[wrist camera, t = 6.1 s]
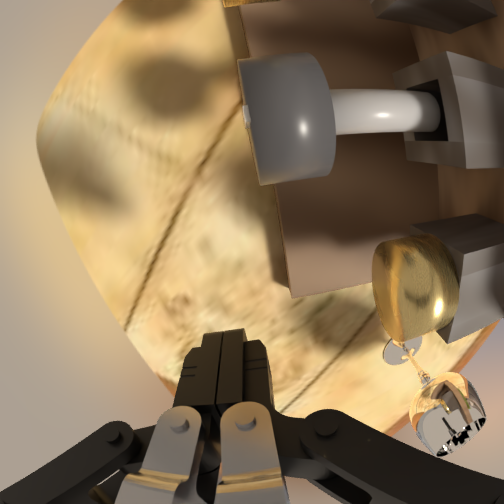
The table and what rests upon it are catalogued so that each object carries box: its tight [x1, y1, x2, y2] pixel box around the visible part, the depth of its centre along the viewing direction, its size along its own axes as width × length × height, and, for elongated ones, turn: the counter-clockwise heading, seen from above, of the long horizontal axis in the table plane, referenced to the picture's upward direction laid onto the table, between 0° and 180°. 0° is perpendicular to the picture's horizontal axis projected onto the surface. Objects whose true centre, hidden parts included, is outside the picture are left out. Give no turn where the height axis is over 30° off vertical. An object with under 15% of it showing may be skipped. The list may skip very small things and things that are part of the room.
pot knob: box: [237, 52, 440, 186], centre depth 9 cm, size 5×8×5 cm, turn 100°
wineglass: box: [384, 336, 487, 458], centre depth 17 cm, size 6×6×12 cm
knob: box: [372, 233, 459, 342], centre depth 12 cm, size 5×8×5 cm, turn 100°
